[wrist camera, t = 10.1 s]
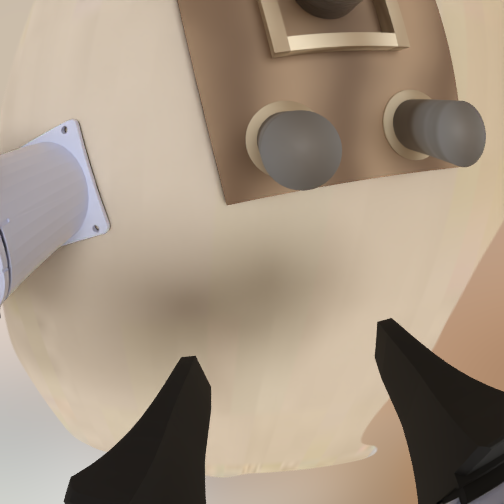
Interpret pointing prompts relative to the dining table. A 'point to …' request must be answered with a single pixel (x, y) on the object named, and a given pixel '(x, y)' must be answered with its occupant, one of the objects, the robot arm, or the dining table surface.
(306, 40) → the pin board
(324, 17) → the metal pin
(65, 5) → the dining table surface
